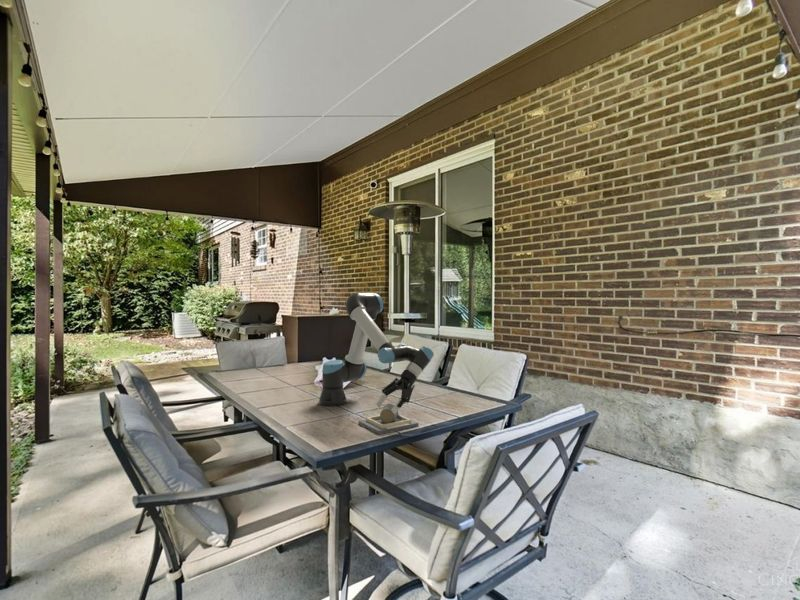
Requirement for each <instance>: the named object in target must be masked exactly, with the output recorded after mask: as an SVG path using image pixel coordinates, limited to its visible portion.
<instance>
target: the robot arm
mask: <svg viewBox="0 0 800 600" xmlns="http://www.w3.org/2000/svg"><path fill="white" fill-rule="evenodd" d="M345 310H346V313H347V315H348V316H349V318H350V319H351V320H353V321H355V326H354V331H353V335H352V337H351V342H350V346H349V351H348V354H346V355H345V357H344V360H341V359H333V360H328V361H325V362H324V363H323V364H322V370H321V373H322V382H321V383H322V384H321V385H322V386H321V387H322V389H321V392H320V396H319V398H318V404H319V405H321V406H324V407H325V406H326V407H337V406H342V405H344V404H347V396H346V393H345V390H344V383H347V382H356V381H358V380H361V379H363V378H364V377H365V376H366V373H367V364H366V362H365V359H364V354H365V351H366V347H367V343H368V340H369V341H370V343H371V344H372V345H373V346H374V348H375V350H377V358H378V361H379V362H380V363H382V364H393V363H398V362H405V361H407V362H409V363H408V365H406V367H405V369H404V370H403V371H402V372H401V374H400V378H398V377H395V378H394V379H393V380H392V381H391V382H390V383H388V385H386V386H385V387H384V388H382V389H381V392H382V394H381V395H380V397H379V398H378V400H377V401H376V402H375V405H376V406H377V407H378V408H381V406H382V405H383V403H384V402H385V401H386V399H387V398H388V396H389V395H391V394H392V393H394V392H396V391H401V395H400V397H399V399H398V400H397V401H396V403H395V404H394V405H395V406H394V407H393V408H392V410H391V411H392V412H393V413H394V414H396V413H397V411H398V412H399V410H400V409H401V408H402V407H403V405H404V404H405V403H408V404H409V403H410V400H411V397H412V393H413V391H414V388H415V387H416V385H415V382H416V381H417V380H418V378H419V376H420V375H421V374H422V373H423V372H424V370H425V368H426V367H427V366H428V365H429V363H431V361H432V359H433V358H434V356H435V355H434V354H435V353H434V351H433V350H432V349H431V348H429V346H426V345H423V346H421V347H420V348H416V347H414V346H412V345H409V344H407V343H404V342H403V343H399V345H397V346H394V345H393V343H392V342H390V340H389V339H388V337H387V336H386V335H385V334H384V332H383V331H382V330H381V328H379V326H378V324H376V322H375V320H376V319H377V315H378V314H380V313H381V312H382V311H383V310H384V301H383V299H382V297H381V296H380V295H379V294H378V293H375V292H354V293H352V294H350V295H349V296H348V297H347V299H346V302H345Z"/></svg>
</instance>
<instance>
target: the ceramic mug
mask: <svg viewBox="0 0 800 600" xmlns="http://www.w3.org/2000/svg"><path fill="white" fill-rule="evenodd" d="M394 406H395V404H393V403H387V404H385V405H384V406H383V407H382V410H381V411H380V414H379V415H380V418H381V420H382V421H383V422H384V423H387V424H388V423H392V422H393V421H395V422H398V421H403V418H402V417H401V416H402V415H401V414H399V410H398V411H397V413H396V414H394V413H393V412H392V411H391V410H392V408H393V407H394ZM398 414H399V415H398ZM400 415H401V416H400ZM396 418H398V419H400V420H398V419H396Z"/></svg>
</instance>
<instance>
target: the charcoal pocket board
mask: <svg viewBox="0 0 800 600" xmlns="http://www.w3.org/2000/svg"><path fill="white" fill-rule="evenodd" d="M398 415H400V416H401V417H402V418H403V421H398V422H395V421H393V422H392V423H388V424H387V423H384V422H383V421H382V420H381V418H380V414H378V415H374V416H369V417H366V418H365V419H361V420H358V425H359V424H360V426H361V425H362V427H363V426H364V427H363V428H365V427H366V428H365V429H367V428H368V430H369V429H370V430H369V431H371V430H372V431H371V432H373V431H374V432H373V433H375V432H376V433H375V434H377V433H378V434H377V435H382V434H381V433H384V434H387V433H386V432H388V433H392V432H391V431H393V432H397V431H396V430H398V431H402V430H406V428H407V429H411V427H412V428H415V427H419V426H420V425H419V422H418V421H415V420H412V419H411V418H408V417H405V416H403V415H401V414H399V413H398ZM396 419H398V418H396ZM398 420H400V419H398ZM401 429H402V430H401Z"/></svg>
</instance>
